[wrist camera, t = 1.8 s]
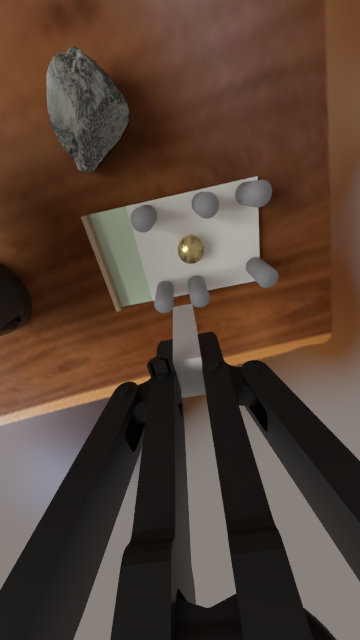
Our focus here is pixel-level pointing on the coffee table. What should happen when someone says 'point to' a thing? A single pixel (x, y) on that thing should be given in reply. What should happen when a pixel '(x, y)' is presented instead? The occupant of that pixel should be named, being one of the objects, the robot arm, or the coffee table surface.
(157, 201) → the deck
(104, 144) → the stone
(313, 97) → the coffee table surface
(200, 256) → the brass dome
